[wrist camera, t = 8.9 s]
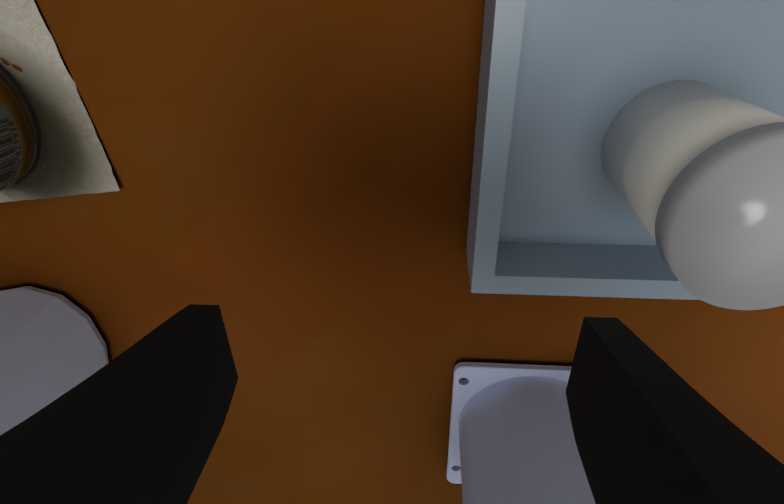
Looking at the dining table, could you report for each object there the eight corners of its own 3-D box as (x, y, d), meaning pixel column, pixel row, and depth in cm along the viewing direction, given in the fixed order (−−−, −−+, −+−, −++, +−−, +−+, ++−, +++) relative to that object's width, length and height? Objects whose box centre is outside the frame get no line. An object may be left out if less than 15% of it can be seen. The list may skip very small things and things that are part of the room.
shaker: (714, 205, 18) (838, 313, 12) (586, 203, 18) (648, 307, 13) (762, 74, 15) (942, 134, 10) (611, 75, 16) (703, 134, 10)
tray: (802, 259, 19) (857, 304, 17) (466, 251, 20) (471, 292, 18) (1086, -297, 11) (1279, -373, 9) (505, -265, 12) (524, -325, 10)
